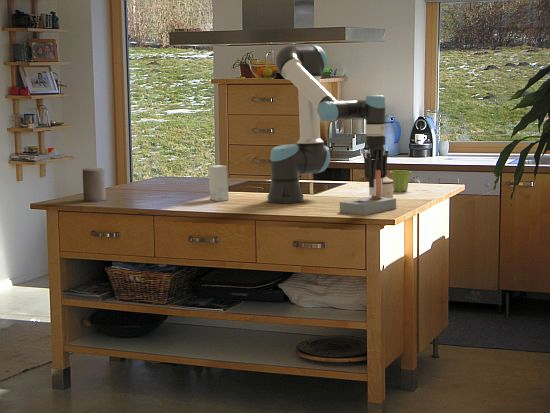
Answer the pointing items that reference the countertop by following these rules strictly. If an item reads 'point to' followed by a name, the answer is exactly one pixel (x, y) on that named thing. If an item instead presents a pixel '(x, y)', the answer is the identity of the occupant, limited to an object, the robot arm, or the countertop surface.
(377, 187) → the dowel
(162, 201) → the countertop surface
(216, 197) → the skincare box
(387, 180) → the teacup with lid
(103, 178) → the pillar candle
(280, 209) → the countertop surface
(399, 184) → the plant pot
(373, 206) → the bore block
